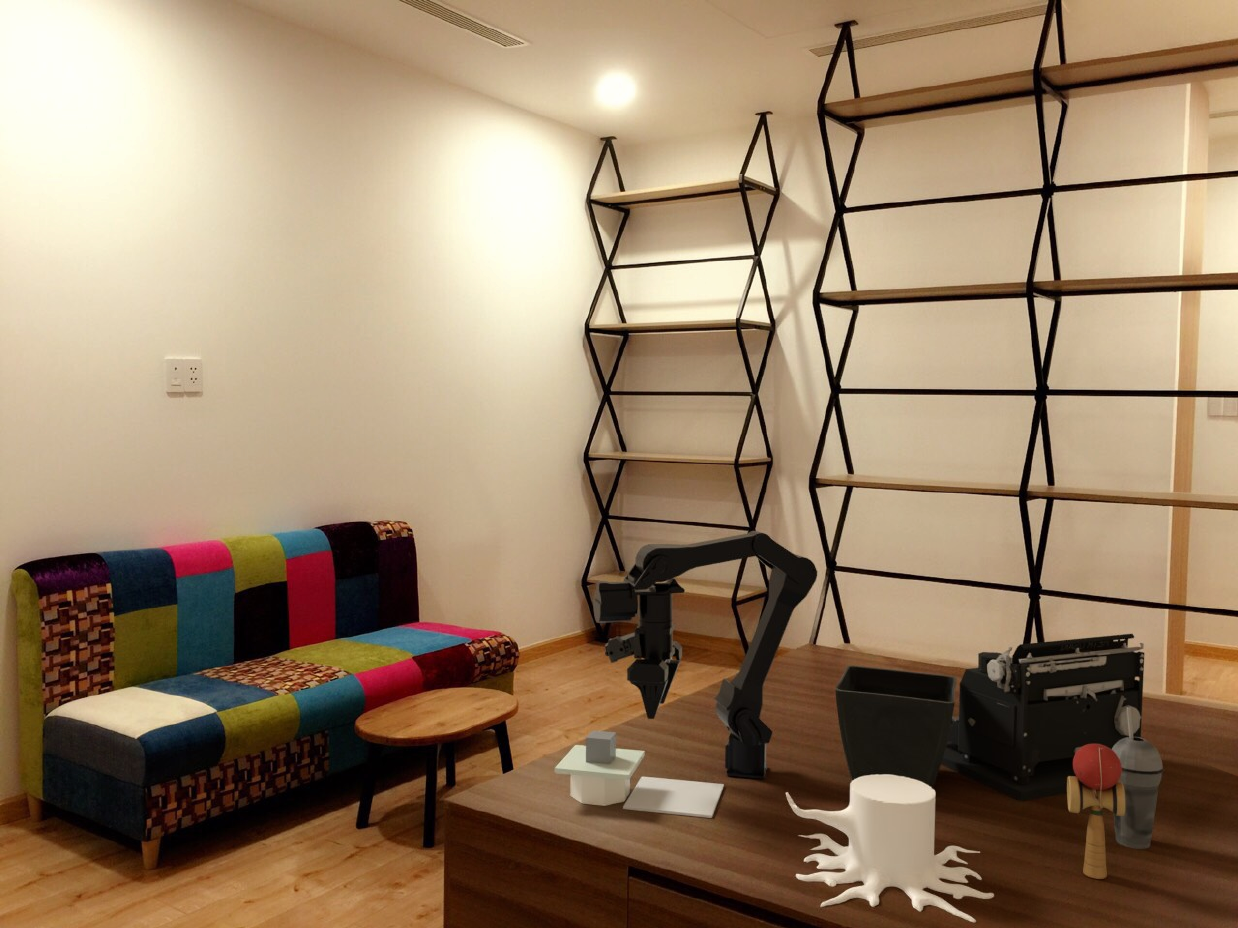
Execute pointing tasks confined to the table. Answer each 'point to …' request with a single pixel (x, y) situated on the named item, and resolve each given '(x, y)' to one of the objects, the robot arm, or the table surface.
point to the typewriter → (1043, 712)
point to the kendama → (1096, 799)
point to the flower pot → (894, 721)
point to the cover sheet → (600, 769)
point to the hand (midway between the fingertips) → (656, 710)
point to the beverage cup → (1137, 789)
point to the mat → (675, 797)
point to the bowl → (598, 790)
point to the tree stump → (888, 845)
